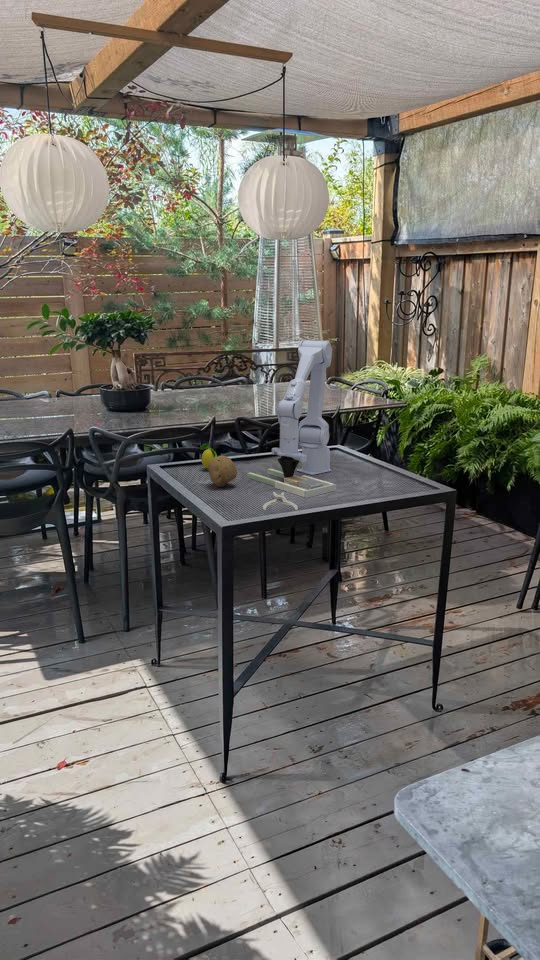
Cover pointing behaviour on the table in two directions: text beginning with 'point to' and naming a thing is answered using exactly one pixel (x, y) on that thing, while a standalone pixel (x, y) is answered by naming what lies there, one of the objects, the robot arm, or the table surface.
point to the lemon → (207, 454)
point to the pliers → (279, 498)
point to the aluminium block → (309, 484)
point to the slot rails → (266, 479)
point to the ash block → (293, 480)
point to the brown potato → (222, 470)
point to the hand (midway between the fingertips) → (288, 479)
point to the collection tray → (303, 492)
